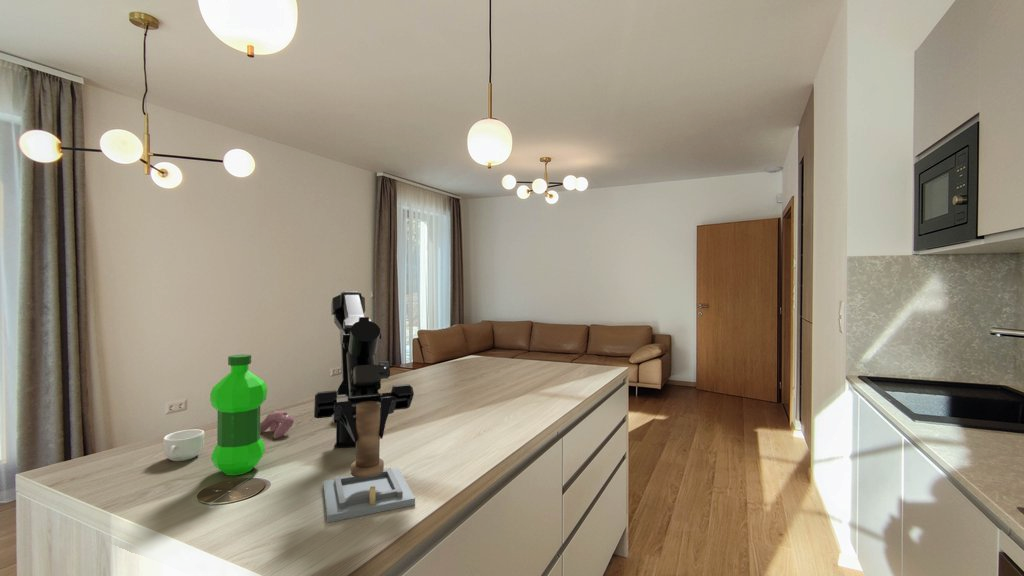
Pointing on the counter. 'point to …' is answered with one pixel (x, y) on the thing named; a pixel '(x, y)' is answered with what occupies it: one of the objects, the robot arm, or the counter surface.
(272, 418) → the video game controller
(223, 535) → the counter surface
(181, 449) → the teacup
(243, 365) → the plastic bottle
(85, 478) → the counter surface
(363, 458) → the flanged spindle
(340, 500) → the base plate
